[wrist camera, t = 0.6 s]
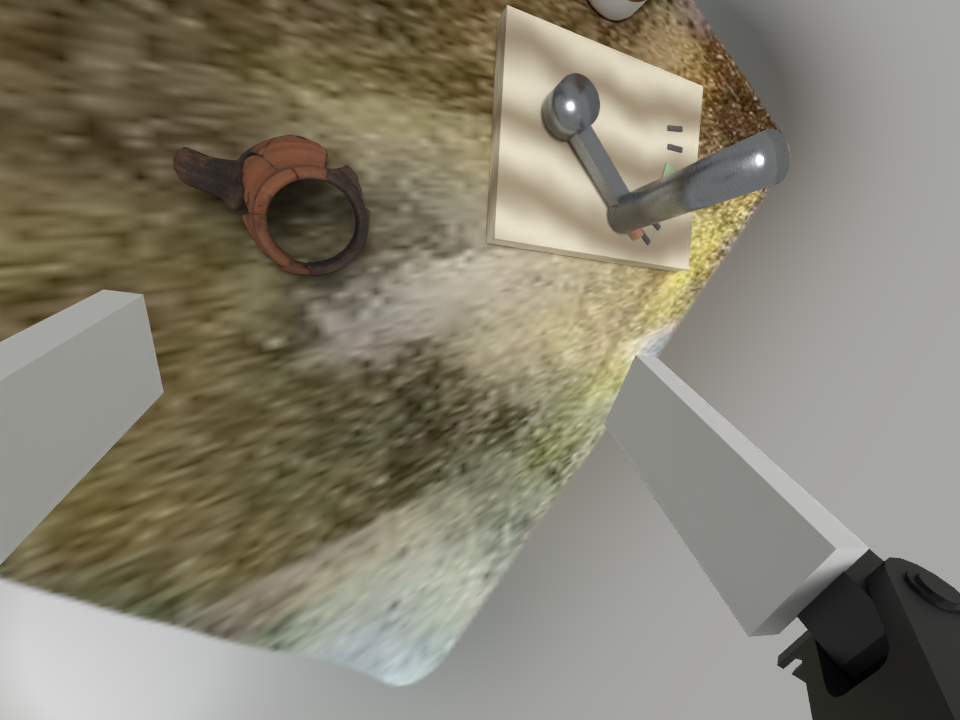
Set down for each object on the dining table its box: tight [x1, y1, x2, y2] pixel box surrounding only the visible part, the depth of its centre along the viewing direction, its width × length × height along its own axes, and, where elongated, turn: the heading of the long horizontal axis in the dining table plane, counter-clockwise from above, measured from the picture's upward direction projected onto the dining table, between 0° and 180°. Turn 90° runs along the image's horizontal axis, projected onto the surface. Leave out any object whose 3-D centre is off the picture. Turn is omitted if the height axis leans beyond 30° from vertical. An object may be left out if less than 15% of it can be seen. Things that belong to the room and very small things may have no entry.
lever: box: [543, 73, 789, 240], centre depth 31 cm, size 16×4×14 cm, turn 41°
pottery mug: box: [173, 135, 370, 275], centre depth 28 cm, size 12×10×8 cm
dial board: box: [486, 5, 703, 272], centre depth 39 cm, size 20×24×2 cm
